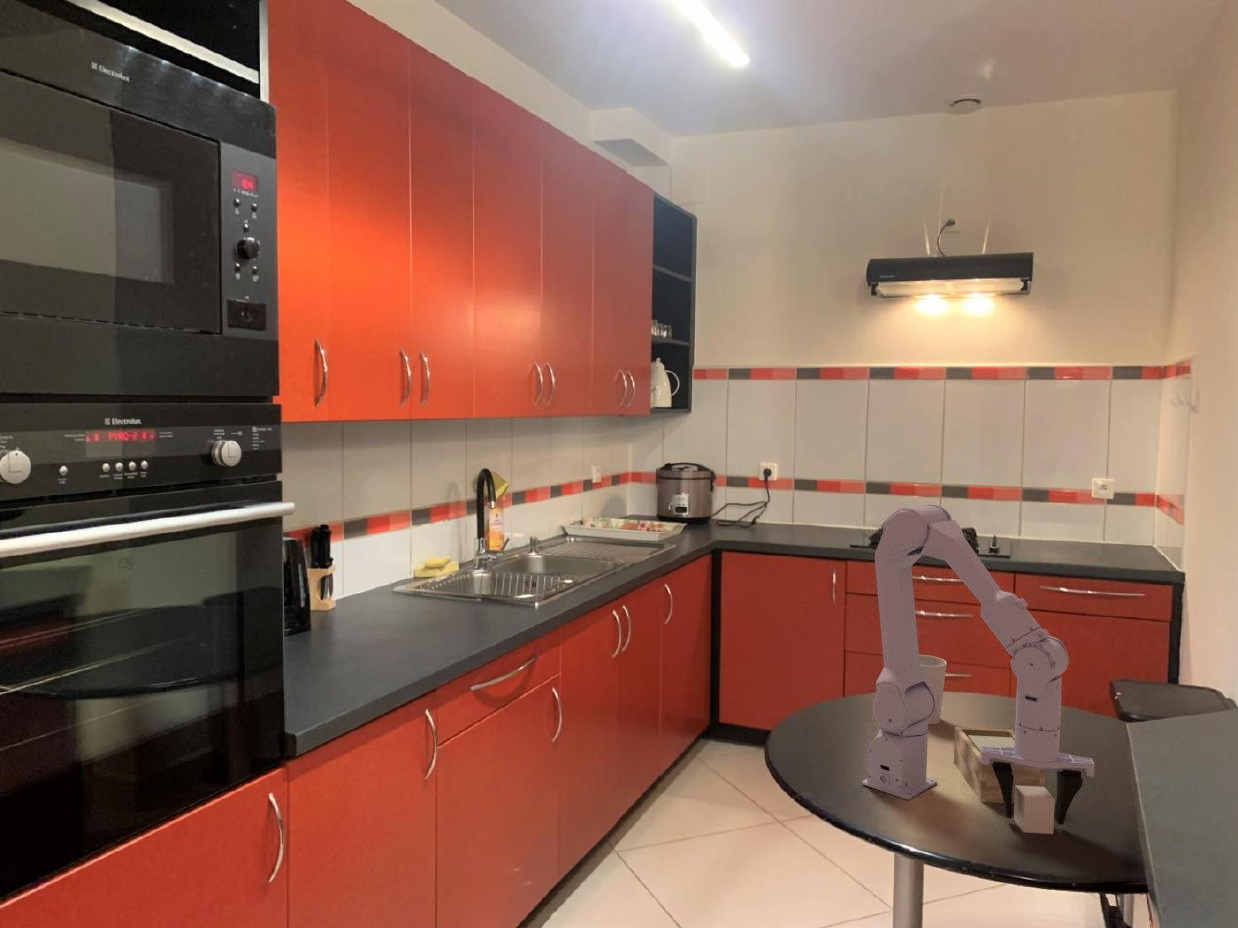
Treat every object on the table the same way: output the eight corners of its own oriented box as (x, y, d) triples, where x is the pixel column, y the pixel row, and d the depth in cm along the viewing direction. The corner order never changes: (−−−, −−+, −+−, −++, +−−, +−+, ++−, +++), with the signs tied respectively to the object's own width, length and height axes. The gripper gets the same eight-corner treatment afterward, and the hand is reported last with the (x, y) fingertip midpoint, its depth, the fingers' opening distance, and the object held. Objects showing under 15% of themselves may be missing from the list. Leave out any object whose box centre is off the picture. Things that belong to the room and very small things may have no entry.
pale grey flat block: (1029, 782, 137) (1030, 758, 136) (983, 780, 137) (984, 755, 137) (1010, 760, 145) (1011, 736, 145) (967, 757, 146) (968, 734, 146)
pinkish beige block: (1053, 837, 125) (1054, 798, 124) (1023, 835, 125) (1024, 797, 125) (1042, 824, 129) (1044, 786, 128) (1013, 822, 129) (1015, 785, 129)
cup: (936, 715, 175) (939, 655, 174) (950, 730, 167) (952, 666, 166) (895, 714, 175) (897, 654, 174) (907, 728, 167) (909, 665, 166)
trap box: (1044, 807, 134) (1045, 765, 133) (980, 804, 135) (982, 762, 134) (1010, 768, 149) (1012, 729, 148) (953, 765, 150) (955, 727, 149)
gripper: (1087, 720, 128) (1083, 812, 129) (979, 709, 132) (975, 799, 133) (1099, 737, 121) (1095, 834, 122) (984, 725, 125) (981, 820, 126)
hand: (1033, 818), depth 127 cm, fingers open, 6 cm apart
